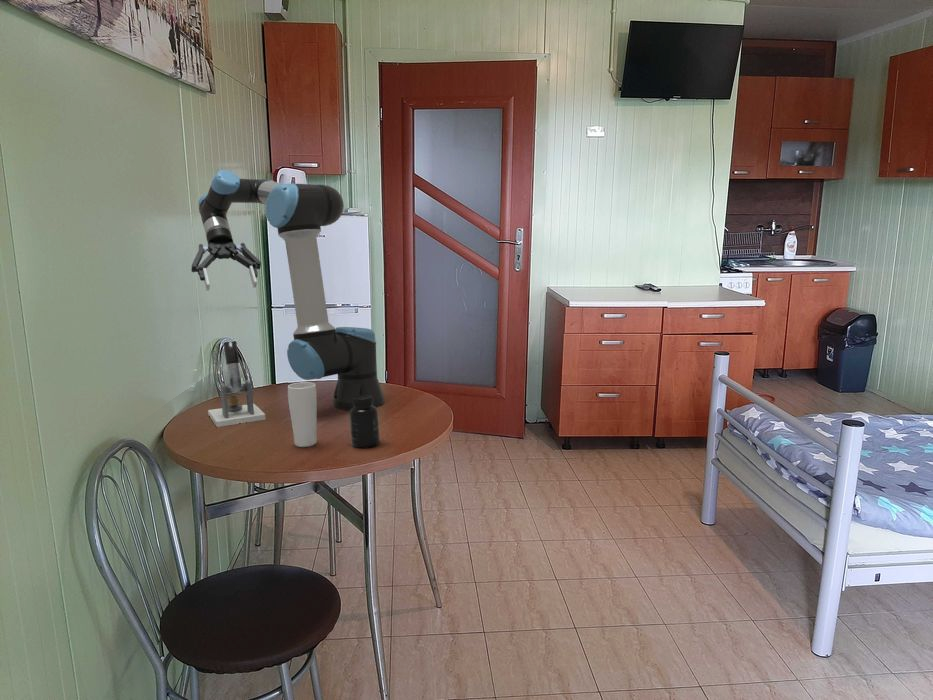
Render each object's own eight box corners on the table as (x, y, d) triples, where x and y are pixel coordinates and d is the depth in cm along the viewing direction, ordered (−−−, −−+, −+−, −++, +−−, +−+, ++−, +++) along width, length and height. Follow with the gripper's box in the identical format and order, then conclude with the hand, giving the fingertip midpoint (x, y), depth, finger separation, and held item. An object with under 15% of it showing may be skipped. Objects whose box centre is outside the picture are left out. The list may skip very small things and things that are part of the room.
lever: (222, 395, 194) (215, 346, 195) (241, 392, 197) (234, 344, 198) (227, 393, 186) (221, 342, 187) (247, 390, 188) (240, 340, 189)
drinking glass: (324, 445, 167) (320, 385, 164) (297, 450, 163) (293, 389, 160) (313, 438, 172) (309, 380, 170) (287, 443, 169) (283, 384, 166)
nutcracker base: (208, 415, 196) (205, 379, 194) (254, 408, 202) (251, 373, 200) (217, 427, 184) (213, 389, 182) (265, 419, 190) (262, 383, 188)
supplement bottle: (370, 438, 172) (368, 391, 170) (384, 444, 166) (382, 396, 164) (346, 443, 167) (343, 396, 165) (360, 450, 162) (357, 401, 160)
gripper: (257, 242, 223) (272, 291, 213) (175, 244, 211) (187, 297, 201) (260, 225, 217) (275, 275, 207) (176, 227, 205) (187, 280, 195)
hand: (232, 286), depth 204 cm, fingers open, 13 cm apart
